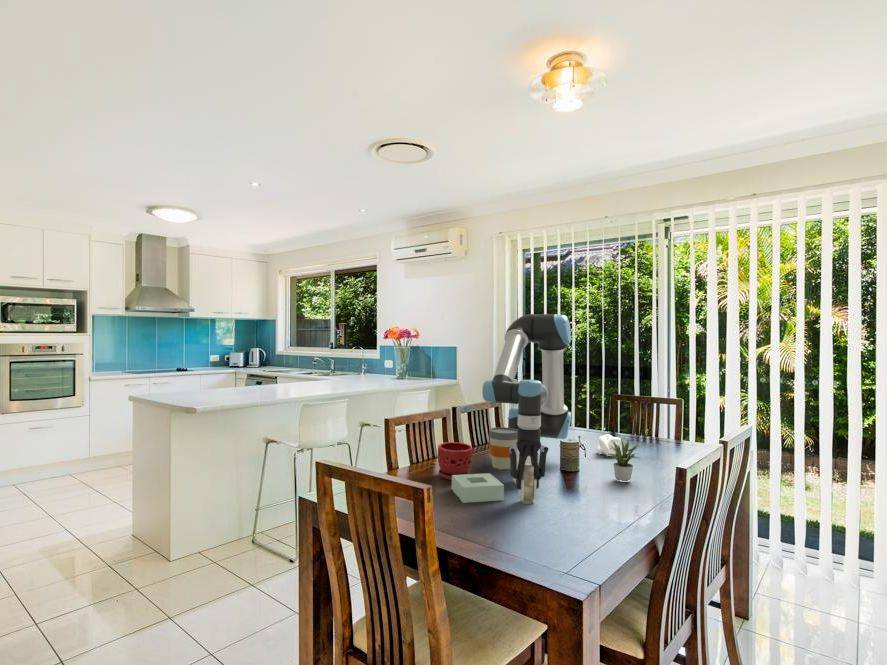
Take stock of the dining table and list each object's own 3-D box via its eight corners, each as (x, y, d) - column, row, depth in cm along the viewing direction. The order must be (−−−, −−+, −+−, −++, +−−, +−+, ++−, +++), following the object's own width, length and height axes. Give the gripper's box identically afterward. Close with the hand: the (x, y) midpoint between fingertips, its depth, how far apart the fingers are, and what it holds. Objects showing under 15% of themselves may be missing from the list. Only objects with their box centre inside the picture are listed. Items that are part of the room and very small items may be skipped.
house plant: (647, 489, 185) (649, 444, 185) (607, 486, 188) (609, 441, 188) (640, 478, 199) (642, 436, 199) (603, 475, 202) (604, 433, 202)
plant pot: (430, 478, 192) (431, 446, 192) (447, 470, 203) (447, 440, 203) (462, 484, 186) (463, 451, 185) (477, 475, 197) (478, 444, 197)
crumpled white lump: (588, 453, 238) (588, 433, 238) (608, 451, 243) (608, 432, 243) (605, 459, 228) (606, 439, 228) (626, 456, 233) (626, 437, 233)
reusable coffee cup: (518, 463, 217) (518, 427, 217) (519, 471, 204) (520, 434, 204) (488, 461, 218) (489, 426, 218) (487, 470, 205) (488, 432, 205)
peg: (530, 499, 171) (530, 463, 171) (535, 503, 167) (535, 466, 167) (518, 500, 170) (519, 464, 170) (523, 504, 166) (524, 467, 166)
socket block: (489, 487, 183) (489, 473, 183) (503, 500, 170) (504, 485, 170) (451, 489, 180) (451, 475, 180) (463, 502, 166) (463, 487, 166)
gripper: (509, 430, 162) (507, 504, 163) (557, 429, 167) (555, 501, 167) (500, 425, 170) (498, 496, 170) (547, 424, 174) (545, 493, 174)
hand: (527, 498), depth 168 cm, fingers closed on peg, 4 cm apart
